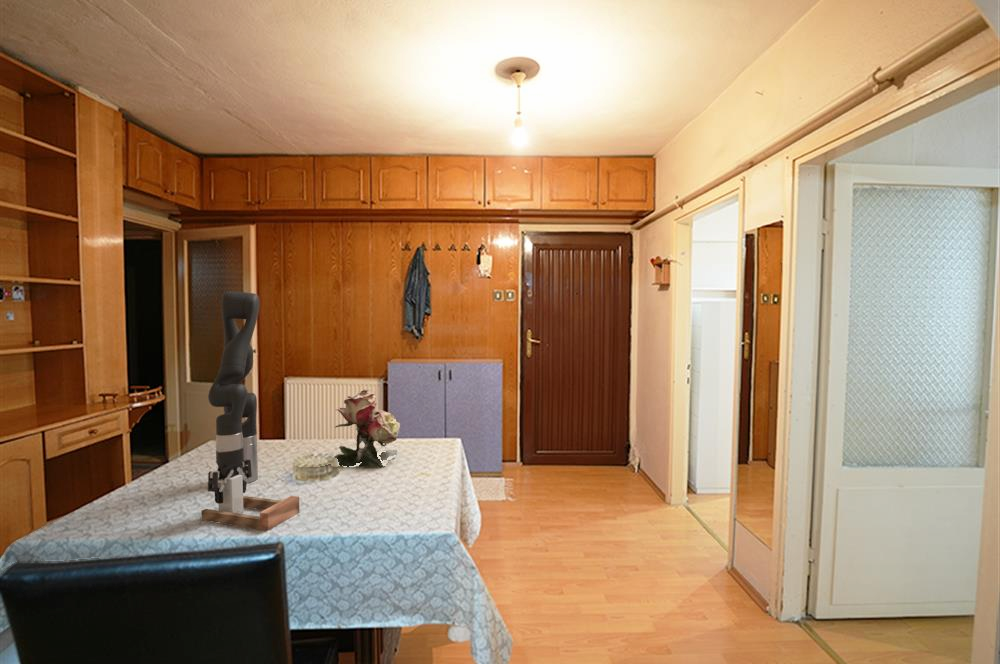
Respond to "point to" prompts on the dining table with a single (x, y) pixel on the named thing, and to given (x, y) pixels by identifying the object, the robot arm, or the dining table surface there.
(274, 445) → the dining table surface
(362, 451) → the rose bouquet
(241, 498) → the skincare box
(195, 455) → the dining table surface
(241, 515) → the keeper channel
